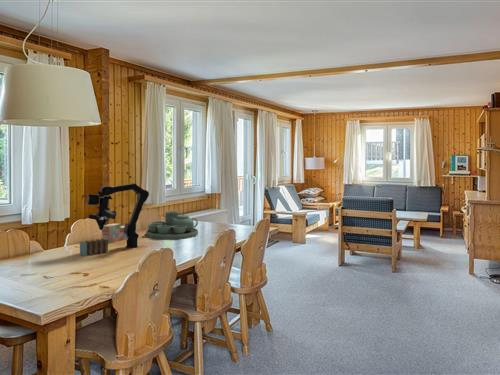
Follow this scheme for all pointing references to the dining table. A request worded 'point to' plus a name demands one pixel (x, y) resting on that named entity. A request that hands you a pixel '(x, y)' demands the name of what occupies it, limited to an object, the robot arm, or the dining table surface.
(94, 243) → the domino
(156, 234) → the tea set
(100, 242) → the domino
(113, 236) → the stack of blocks
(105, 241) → the domino
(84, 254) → the end domino
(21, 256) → the dining table surface
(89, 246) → the domino
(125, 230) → the robot arm
